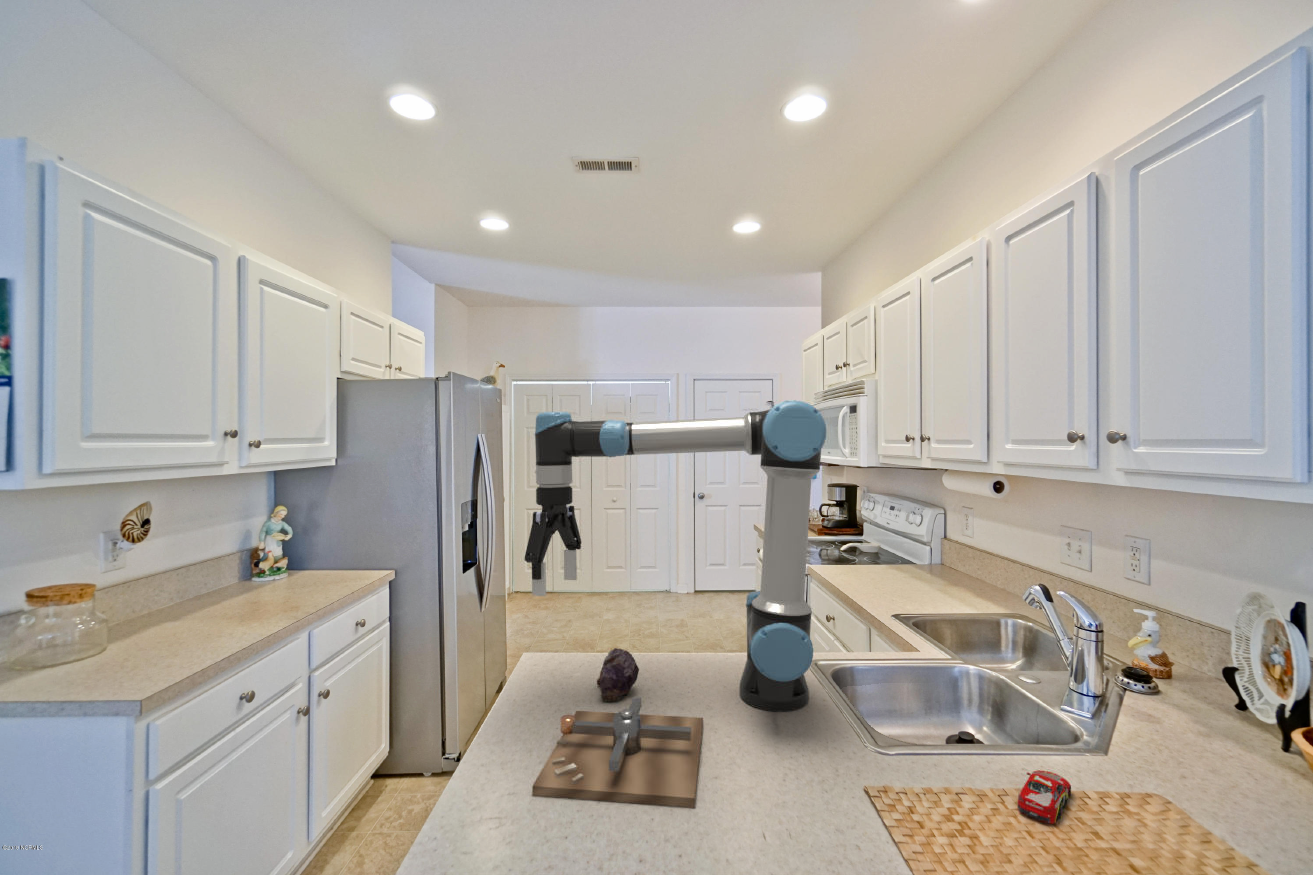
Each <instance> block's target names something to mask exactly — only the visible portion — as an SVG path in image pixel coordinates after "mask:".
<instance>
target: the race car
mask: <svg viewBox="0 0 1313 875" xmlns="http://www.w3.org/2000/svg"><path fill="white" fill-rule="evenodd" d="M1026 775H1028V778H1027V780H1026V781H1025V783H1024V784H1023V787H1022V788H1021V790H1020V791H1019V794H1018V797H1017V798H1018V799H1017V808H1018V811H1019V812H1020V813H1022V814H1023V815H1025V816H1029V817H1031V818H1033V819H1036V820H1038V821H1042V822H1044V823H1047V824H1057V823H1059V820H1060V819H1061V816H1062V814H1063V812H1064V810H1065V808H1066V806H1067V803H1068V801H1069V799H1070V797H1071V793H1072V785H1071V783H1070V782H1069V781H1068V780H1067V779H1066V778H1064V777H1063V776H1061V775H1059V774H1058V773H1054V772H1051V771H1048V770H1033V771H1032V772H1031V773H1030V772H1026Z"/></svg>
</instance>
